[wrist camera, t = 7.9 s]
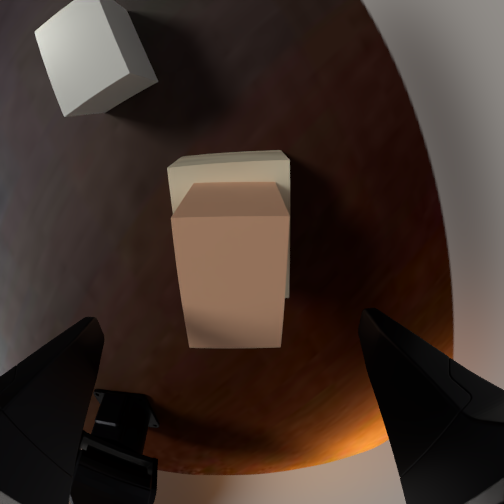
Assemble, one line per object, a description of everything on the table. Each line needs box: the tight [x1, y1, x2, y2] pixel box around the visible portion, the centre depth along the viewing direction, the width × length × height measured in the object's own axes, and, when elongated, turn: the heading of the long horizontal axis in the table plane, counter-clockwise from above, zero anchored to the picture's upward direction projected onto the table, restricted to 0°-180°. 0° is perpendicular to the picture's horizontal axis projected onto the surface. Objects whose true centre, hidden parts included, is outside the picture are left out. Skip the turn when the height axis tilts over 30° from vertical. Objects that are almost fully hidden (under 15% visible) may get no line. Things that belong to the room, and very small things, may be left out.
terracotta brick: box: [171, 182, 290, 348], centre depth 13 cm, size 6×4×5 cm, turn 0°
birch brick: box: [167, 150, 290, 298], centre depth 18 cm, size 8×6×4 cm
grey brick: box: [35, 0, 158, 117], centre depth 12 cm, size 6×4×5 cm, turn 22°
